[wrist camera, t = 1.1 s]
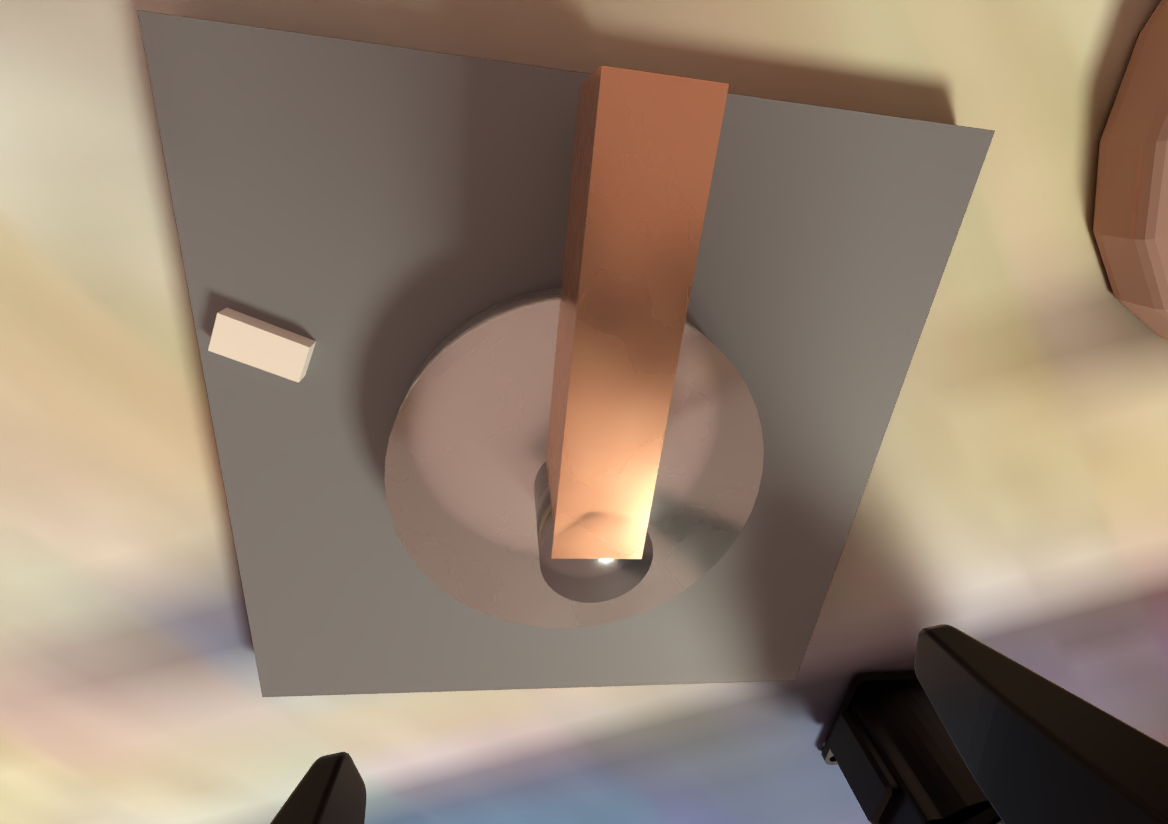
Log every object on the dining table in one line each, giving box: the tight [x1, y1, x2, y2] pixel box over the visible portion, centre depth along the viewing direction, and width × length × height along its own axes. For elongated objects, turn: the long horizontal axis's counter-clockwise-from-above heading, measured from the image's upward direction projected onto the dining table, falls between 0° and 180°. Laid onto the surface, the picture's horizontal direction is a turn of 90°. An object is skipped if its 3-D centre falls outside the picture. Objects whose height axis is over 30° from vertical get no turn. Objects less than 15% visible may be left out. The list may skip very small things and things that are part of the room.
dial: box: [384, 65, 764, 628], centre depth 16 cm, size 17×12×5 cm
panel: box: [138, 10, 995, 697], centre depth 20 cm, size 23×23×2 cm
